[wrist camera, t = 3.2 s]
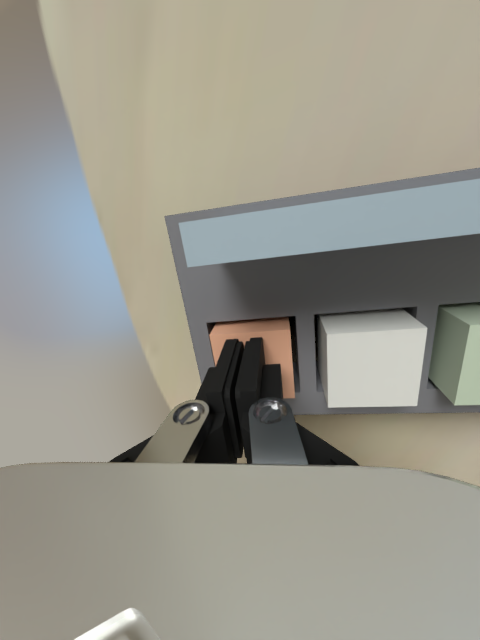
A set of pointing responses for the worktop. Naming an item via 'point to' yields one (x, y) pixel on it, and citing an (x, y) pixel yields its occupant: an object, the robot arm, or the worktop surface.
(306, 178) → the worktop surface
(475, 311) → the sage key
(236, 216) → the keypad
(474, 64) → the worktop surface
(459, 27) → the worktop surface
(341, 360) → the white key
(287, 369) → the terracotta key
